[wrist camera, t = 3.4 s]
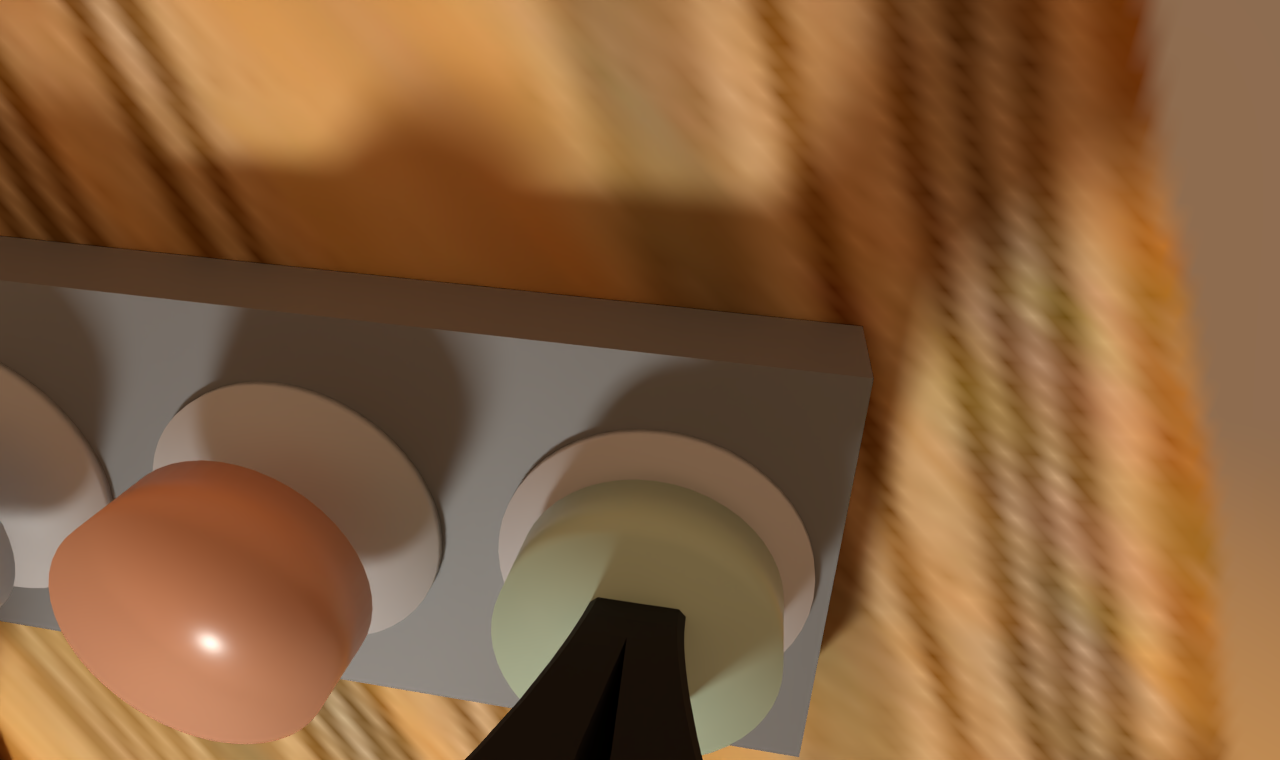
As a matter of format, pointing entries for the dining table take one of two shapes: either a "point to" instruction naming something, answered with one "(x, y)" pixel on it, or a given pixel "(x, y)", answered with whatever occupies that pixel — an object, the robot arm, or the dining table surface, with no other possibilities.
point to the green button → (653, 593)
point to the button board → (420, 429)
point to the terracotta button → (213, 601)
